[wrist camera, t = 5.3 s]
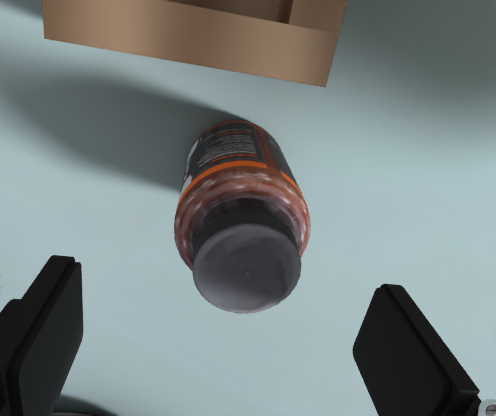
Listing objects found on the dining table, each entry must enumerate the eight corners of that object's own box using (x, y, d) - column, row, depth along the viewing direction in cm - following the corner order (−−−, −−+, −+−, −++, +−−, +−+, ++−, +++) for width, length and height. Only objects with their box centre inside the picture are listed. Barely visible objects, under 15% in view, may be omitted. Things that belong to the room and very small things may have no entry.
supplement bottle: (168, 157, 23) (125, 263, 13) (243, 96, 21) (264, 160, 11) (228, 223, 25) (233, 356, 15) (300, 171, 24) (358, 280, 14)
